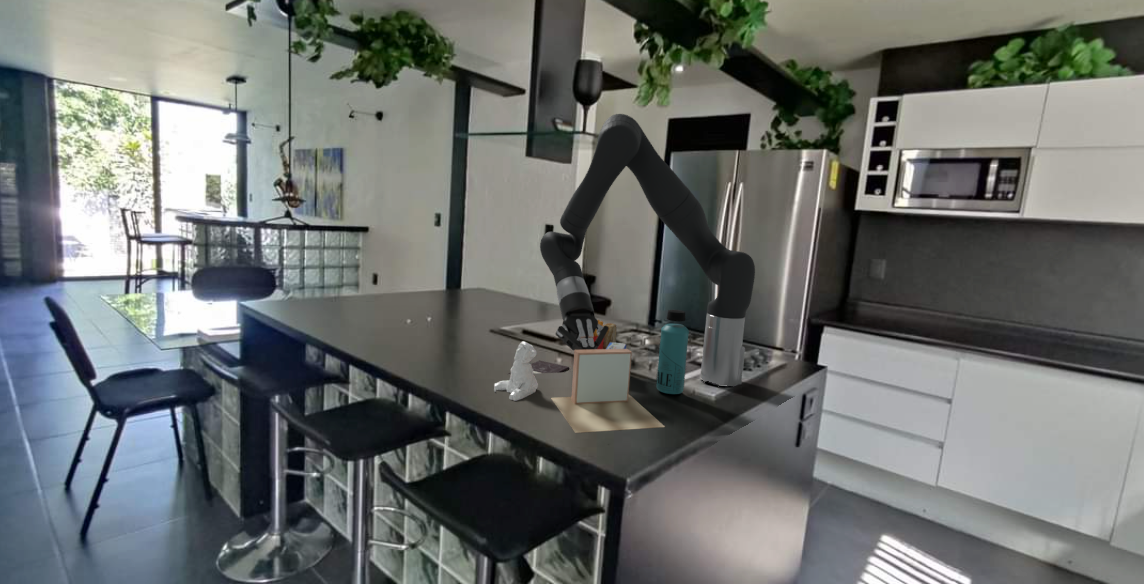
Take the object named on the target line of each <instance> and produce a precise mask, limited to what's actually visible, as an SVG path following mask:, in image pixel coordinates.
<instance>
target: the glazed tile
mask: <svg viewBox="0 0 1144 584" xmlns="http://www.w3.org/2000/svg"><path fill="white" fill-rule="evenodd" d="M632 352H633V351H631V350H630V349H628V348H626V349H591V350H573V366H572V367H573V368H572V382H571V383H572V384H571V396H570V397H571V400H572V402H573V403H574V404H586V403H606V402H626V401H628V394H629V391H630V378H631V367H632V366H631V365H632V356H633V353H632Z"/></svg>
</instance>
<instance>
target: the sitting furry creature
mask: <svg viewBox="0 0 1144 584" xmlns="http://www.w3.org/2000/svg"><path fill="white" fill-rule="evenodd" d="M515 351H516V352H515V355H514V357H513V364H512V367H511V368H510V373H511V374H509V376H510V377H509V380H507V379H506V380H499V381H498V382H495V383H493V387H494V388H493V392H494V393H497V391H506V393H510V394H509V396H508V399H509V400H511V401H514V402H515V401H520V400H523V399H524V398H527V397H529V396H530V395H532V394H535V393H536V391H537V389H538V386H539V383H538V381H537V378H536V376H535V373H533V369H532V366H531V364H532V363H530V362H531V361H532V360H533V359H534V358H535V357H536V356H537V350H536V349H535V348H534V346H533V345H532V344H530V343H528V342H526V341H524V340H523V341H521V342H520V343H519V344H518V346H517V348H516V350H515Z"/></svg>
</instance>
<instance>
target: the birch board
mask: <svg viewBox="0 0 1144 584" xmlns="http://www.w3.org/2000/svg"><path fill="white" fill-rule="evenodd" d="M550 399H551V400H552V402H553V403H554V405H555V406H556V407H557V409H558V410H559V411H560V413H561V415H562V416H563V417H564V419H565V420H566V422H567V423H568V425H569V426H570V428H571V429H572V430H573V432H574V433H575V434H580V433H581V434H583V433H595V432H596V433H597V432H609V431H610V432H612V431H627V430H639V429H640V430H641V429H654V428H655V429H656V428H658V429H659V428H666V426H665V425H663V423H662V422H661V421H659V420H658V419H657V418H656V417H655V416H654V415H652V414H651V413H650V412H649V410H647V409H646V408H645V407H643V405H641V404H640V403H639V402H638V401H637V400H636V399H635V398H634V397H633V396H632V395H630V394H629V393H628V401H626V402H606V403H586V404H574V403H573V402H572V400H571V396H559V397H551V398H550Z"/></svg>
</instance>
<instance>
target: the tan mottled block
mask: <svg viewBox="0 0 1144 584" xmlns="http://www.w3.org/2000/svg"><path fill="white" fill-rule="evenodd" d="M604 326H608V327H609V329H608V331H607V333H606V335H605V336H604V341H603V349H606V348H607V347H608V345H609V343H617V339H616V338H617V324H615V323H611V322H609V323H608V322H607V323H605V324H603V327H604Z"/></svg>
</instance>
